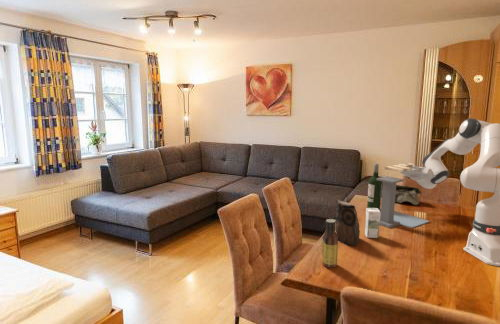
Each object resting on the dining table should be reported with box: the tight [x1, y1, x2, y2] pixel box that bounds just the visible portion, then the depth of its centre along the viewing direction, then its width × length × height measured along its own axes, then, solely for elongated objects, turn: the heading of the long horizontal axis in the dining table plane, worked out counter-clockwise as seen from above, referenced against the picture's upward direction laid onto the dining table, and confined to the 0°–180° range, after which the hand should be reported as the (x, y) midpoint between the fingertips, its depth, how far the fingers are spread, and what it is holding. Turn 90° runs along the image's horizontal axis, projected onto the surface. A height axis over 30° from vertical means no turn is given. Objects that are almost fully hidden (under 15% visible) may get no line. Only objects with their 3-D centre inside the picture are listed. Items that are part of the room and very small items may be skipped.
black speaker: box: [334, 199, 361, 247], centre depth 163 cm, size 13×13×20 cm
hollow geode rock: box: [381, 183, 422, 206], centre depth 228 cm, size 28×13×15 cm
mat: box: [380, 210, 430, 229], centre depth 195 cm, size 18×24×1 cm
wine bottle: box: [366, 162, 383, 211], centre depth 211 cm, size 8×8×30 cm
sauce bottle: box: [321, 218, 339, 269], centre depth 138 cm, size 6×6×20 cm
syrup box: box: [364, 207, 381, 239], centre depth 168 cm, size 6×6×14 cm
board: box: [384, 162, 416, 173], centre depth 190 cm, size 20×10×2 cm, turn 124°
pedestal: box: [376, 175, 404, 229], centre depth 185 cm, size 10×10×26 cm
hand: (409, 165), depth 193 cm, fingers closed on board, 3 cm apart
